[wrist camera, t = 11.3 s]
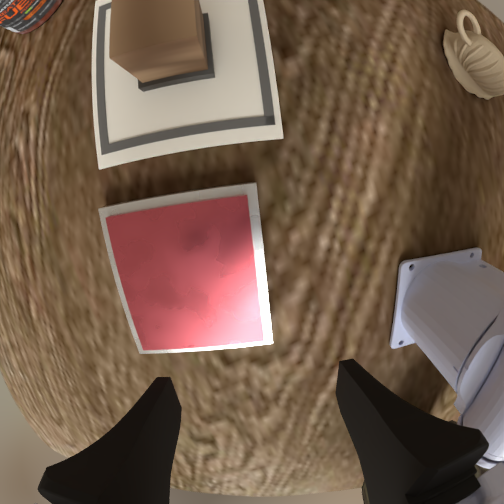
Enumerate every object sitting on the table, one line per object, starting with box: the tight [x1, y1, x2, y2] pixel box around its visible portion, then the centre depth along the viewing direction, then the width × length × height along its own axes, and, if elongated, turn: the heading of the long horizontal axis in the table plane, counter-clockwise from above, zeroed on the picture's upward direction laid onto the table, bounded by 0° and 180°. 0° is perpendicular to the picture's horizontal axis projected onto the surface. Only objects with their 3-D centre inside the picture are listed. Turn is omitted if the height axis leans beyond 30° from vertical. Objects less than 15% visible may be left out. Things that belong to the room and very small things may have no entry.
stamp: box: [109, 0, 215, 92], centre depth 11 cm, size 5×5×6 cm
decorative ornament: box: [443, 10, 504, 100], centre depth 12 cm, size 4×8×5 cm, turn 53°
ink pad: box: [99, 182, 273, 354], centre depth 18 cm, size 10×11×2 cm
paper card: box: [92, 0, 283, 170], centre depth 14 cm, size 12×14×1 cm
